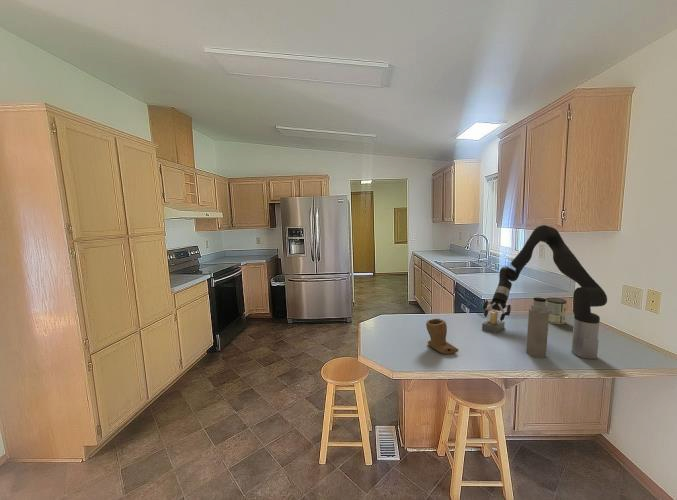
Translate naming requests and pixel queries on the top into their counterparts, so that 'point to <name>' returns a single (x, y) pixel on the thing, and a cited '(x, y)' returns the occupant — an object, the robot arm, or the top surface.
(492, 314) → the tall tan rectangular block
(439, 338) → the brown boot-shaped pot
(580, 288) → the robot arm
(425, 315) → the top surface
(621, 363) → the top surface
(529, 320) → the thermos bottle
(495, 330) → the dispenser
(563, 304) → the coffee can
